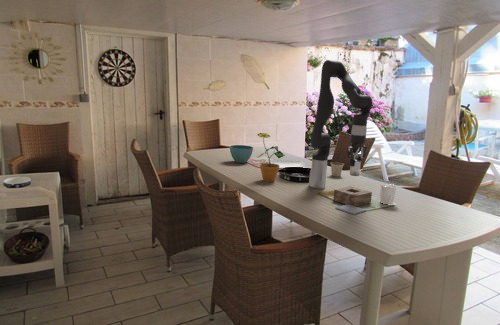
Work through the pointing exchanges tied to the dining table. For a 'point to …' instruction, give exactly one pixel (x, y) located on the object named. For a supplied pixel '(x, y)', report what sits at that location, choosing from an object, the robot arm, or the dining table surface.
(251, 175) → the dining table surface
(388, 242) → the dining table surface
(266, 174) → the potted plant
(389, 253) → the dining table surface
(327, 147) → the robot arm
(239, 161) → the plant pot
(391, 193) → the white cup
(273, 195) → the dining table surface
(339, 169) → the flower pot
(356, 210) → the mat
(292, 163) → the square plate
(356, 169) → the shiny metal cylinder
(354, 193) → the housing
